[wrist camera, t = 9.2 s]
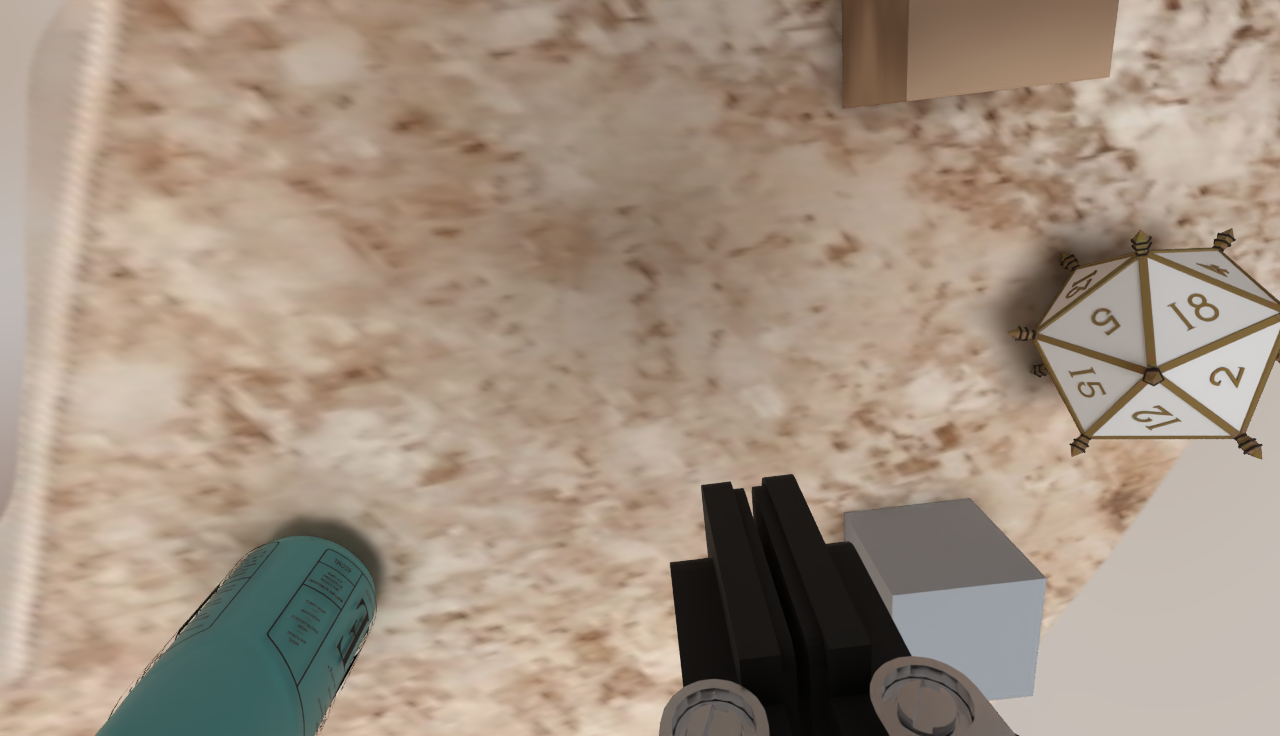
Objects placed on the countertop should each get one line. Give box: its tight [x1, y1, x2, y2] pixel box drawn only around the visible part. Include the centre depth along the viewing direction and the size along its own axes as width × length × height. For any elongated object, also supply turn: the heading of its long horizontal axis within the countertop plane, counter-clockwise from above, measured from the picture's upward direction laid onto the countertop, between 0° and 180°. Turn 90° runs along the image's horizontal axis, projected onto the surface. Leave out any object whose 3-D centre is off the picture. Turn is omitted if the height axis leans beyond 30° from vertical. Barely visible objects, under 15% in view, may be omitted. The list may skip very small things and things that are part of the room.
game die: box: [1008, 228, 1280, 459], centre depth 24 cm, size 9×8×10 cm
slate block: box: [844, 498, 1047, 701], centre depth 29 cm, size 6×6×6 cm
